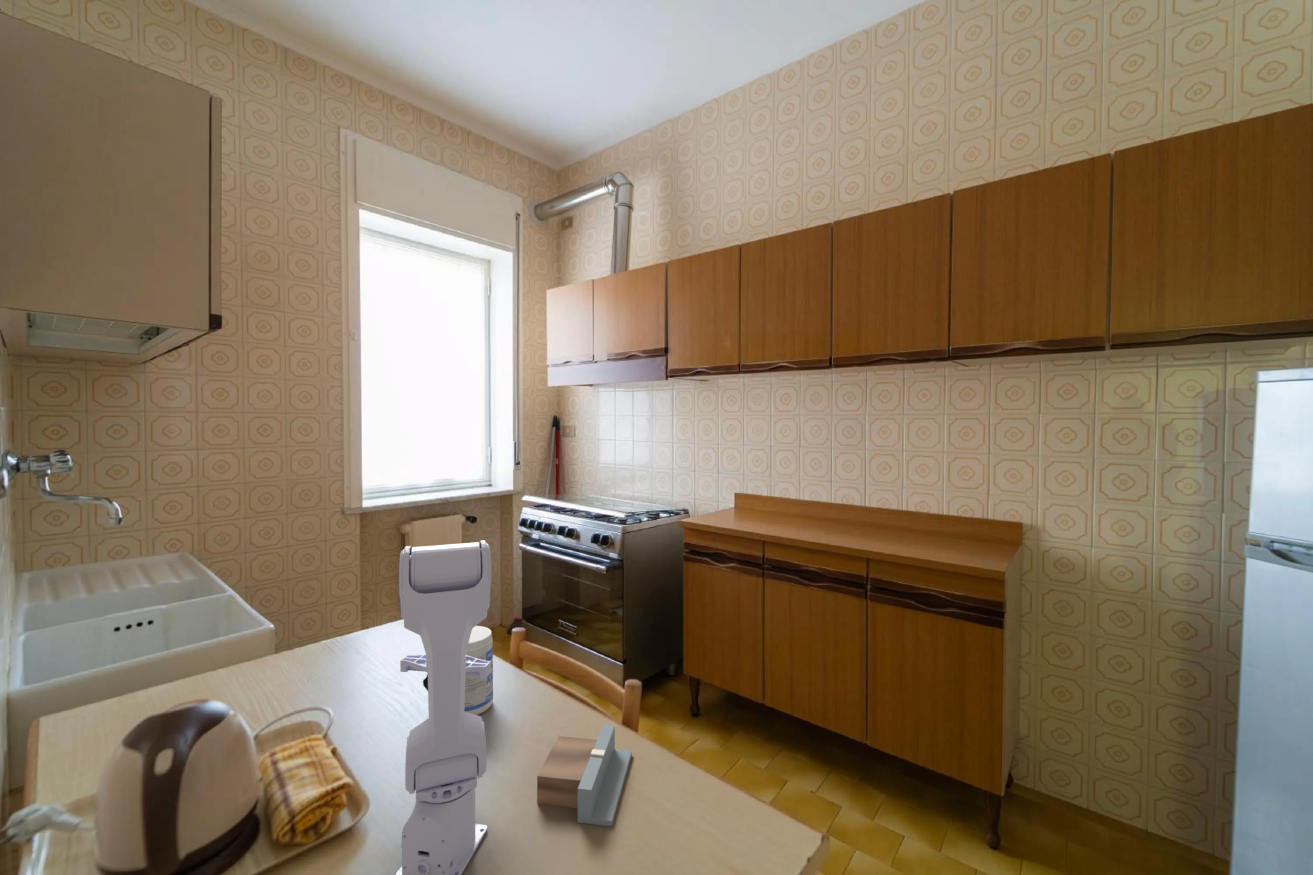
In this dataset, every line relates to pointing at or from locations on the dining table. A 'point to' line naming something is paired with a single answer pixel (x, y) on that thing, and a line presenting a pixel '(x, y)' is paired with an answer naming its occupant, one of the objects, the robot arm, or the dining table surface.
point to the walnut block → (564, 771)
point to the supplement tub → (476, 687)
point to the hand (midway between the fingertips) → (445, 716)
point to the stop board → (603, 780)
